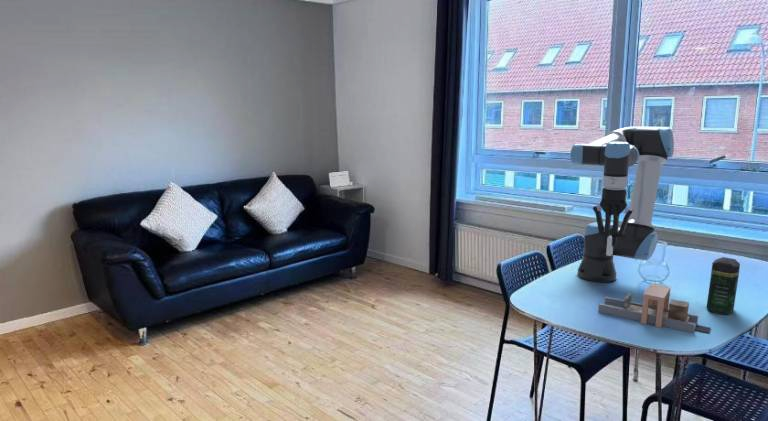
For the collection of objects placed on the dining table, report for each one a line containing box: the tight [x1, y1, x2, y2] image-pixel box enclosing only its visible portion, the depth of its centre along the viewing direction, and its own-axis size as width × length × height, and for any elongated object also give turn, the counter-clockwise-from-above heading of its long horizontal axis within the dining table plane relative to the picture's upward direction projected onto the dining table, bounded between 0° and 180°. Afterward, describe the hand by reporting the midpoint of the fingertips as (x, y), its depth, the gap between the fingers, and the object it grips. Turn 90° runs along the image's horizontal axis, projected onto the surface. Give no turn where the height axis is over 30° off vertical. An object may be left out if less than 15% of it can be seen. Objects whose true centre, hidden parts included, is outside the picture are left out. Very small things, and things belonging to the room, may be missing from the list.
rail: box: [597, 296, 699, 334], centre depth 176 cm, size 29×9×3 cm, turn 53°
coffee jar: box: [706, 256, 741, 315], centre depth 180 cm, size 10×8×19 cm
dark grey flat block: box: [694, 324, 712, 334], centre depth 166 cm, size 4×5×1 cm
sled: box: [623, 293, 690, 322], centre depth 173 cm, size 19×6×6 cm, turn 53°
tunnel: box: [640, 283, 671, 329], centre depth 173 cm, size 6×12×10 cm, turn 143°
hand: (609, 254), depth 180 cm, fingers closed
